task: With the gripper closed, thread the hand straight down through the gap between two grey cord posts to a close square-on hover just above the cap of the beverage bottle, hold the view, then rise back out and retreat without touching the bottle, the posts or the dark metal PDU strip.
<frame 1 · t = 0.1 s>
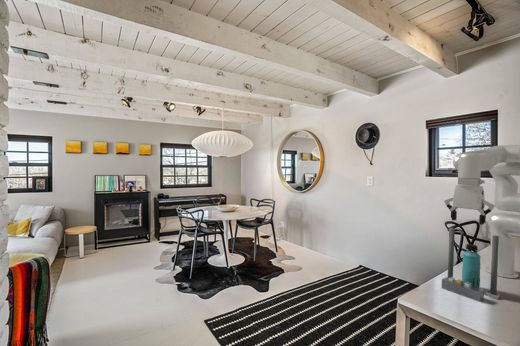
hand: (467, 222, 111), 31 cm above the table, fingers open, 9 cm apart
cord post 2: (493, 296, 111), on the table
pdu strip: (461, 293, 113), on the table
cord post 1: (450, 281, 124), on the table
beverage bottle: (470, 289, 118), on the table
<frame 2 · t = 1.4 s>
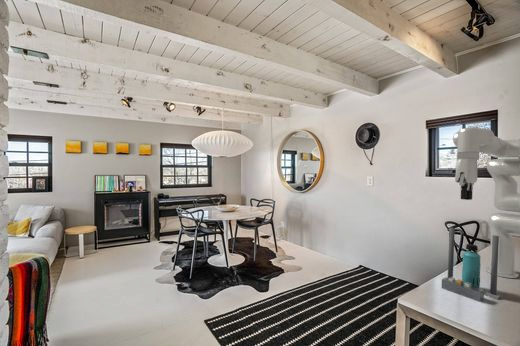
hand: (466, 199, 112), 41 cm above the table, fingers closed
nothing on the table moved.
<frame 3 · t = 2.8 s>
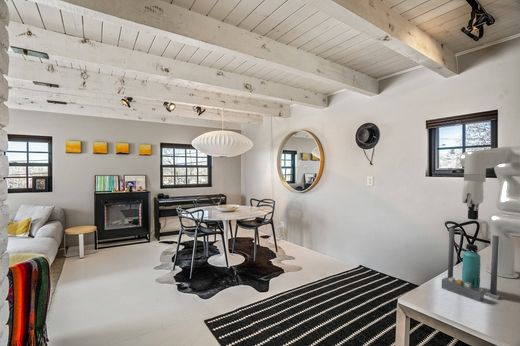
hand: (472, 219, 117), 32 cm above the table, fingers closed
nothing on the table moved.
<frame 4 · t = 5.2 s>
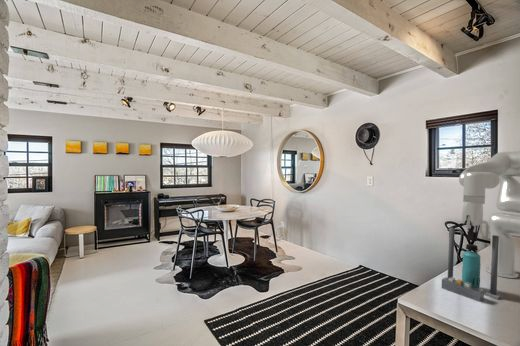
hand: (472, 240, 117), 22 cm above the table, fingers closed
nothing on the table moved.
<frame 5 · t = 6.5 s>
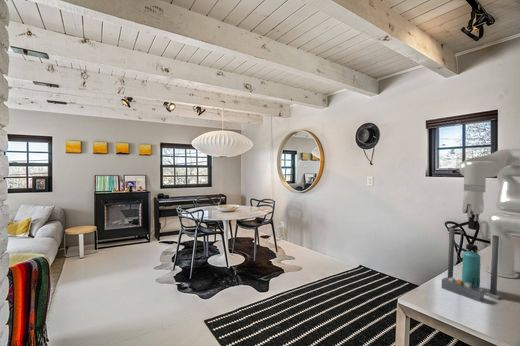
hand: (473, 229, 117), 27 cm above the table, fingers closed
nothing on the table moved.
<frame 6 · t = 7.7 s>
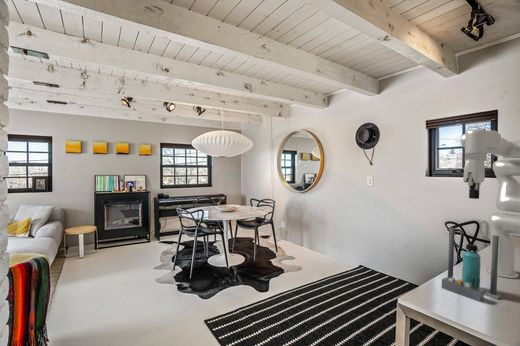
hand: (474, 198, 117), 41 cm above the table, fingers closed
nothing on the table moved.
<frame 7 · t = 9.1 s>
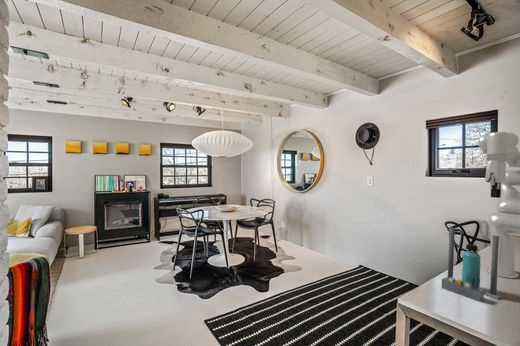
hand: (495, 197, 123), 41 cm above the table, fingers closed
nothing on the table moved.
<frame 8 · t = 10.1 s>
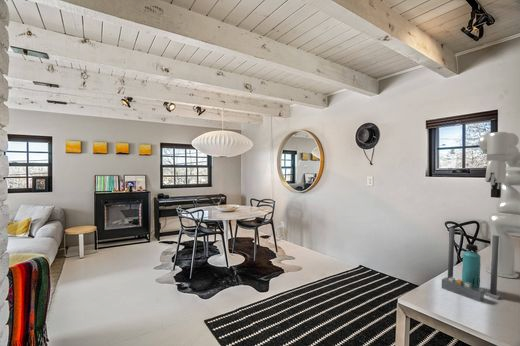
hand: (495, 197, 123), 41 cm above the table, fingers closed
nothing on the table moved.
at the end: beverage bottle moved 0.2 cm from its start; cord post 2 tilted 0°; cord post 1 tilted 0° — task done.
